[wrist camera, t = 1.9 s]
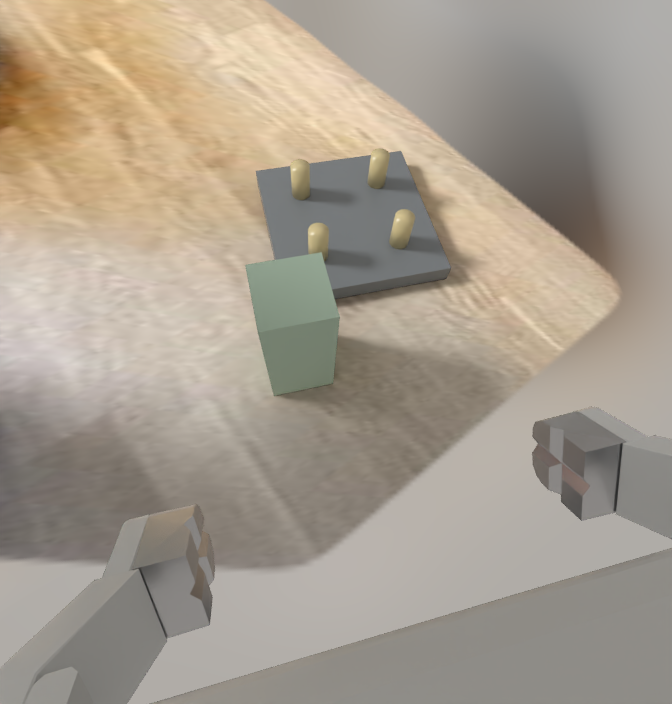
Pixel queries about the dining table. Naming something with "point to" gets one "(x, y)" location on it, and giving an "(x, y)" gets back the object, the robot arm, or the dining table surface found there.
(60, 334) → the dining table surface
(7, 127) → the dining table surface
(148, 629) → the robot arm
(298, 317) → the green block
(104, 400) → the dining table surface
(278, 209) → the plate
